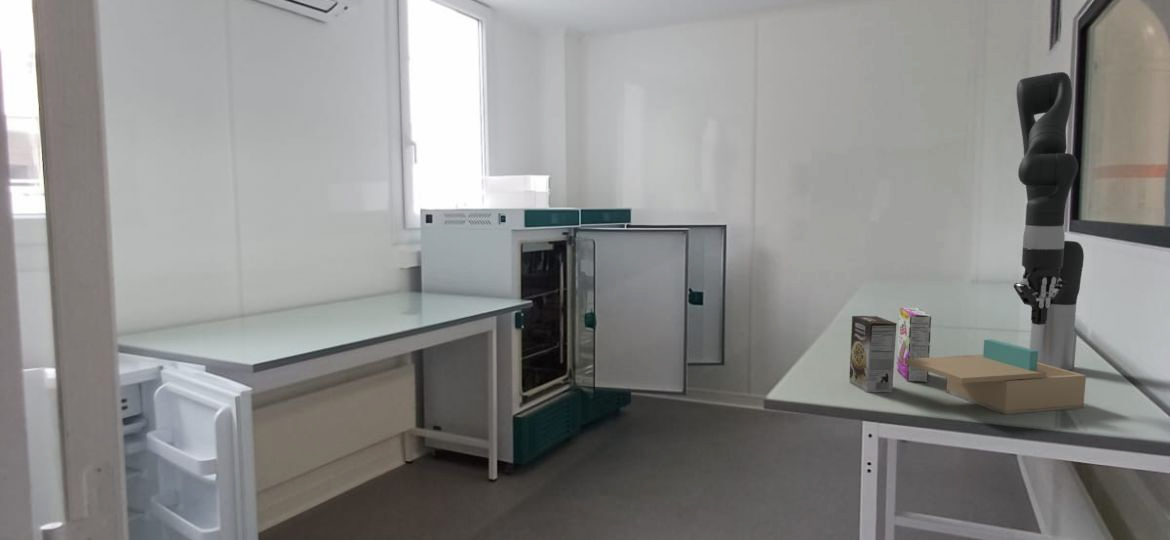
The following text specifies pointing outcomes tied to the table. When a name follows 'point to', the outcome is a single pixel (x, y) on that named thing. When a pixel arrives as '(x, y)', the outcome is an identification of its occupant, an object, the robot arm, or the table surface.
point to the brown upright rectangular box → (872, 353)
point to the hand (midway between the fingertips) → (1038, 323)
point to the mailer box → (1026, 392)
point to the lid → (984, 364)
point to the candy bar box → (913, 342)
